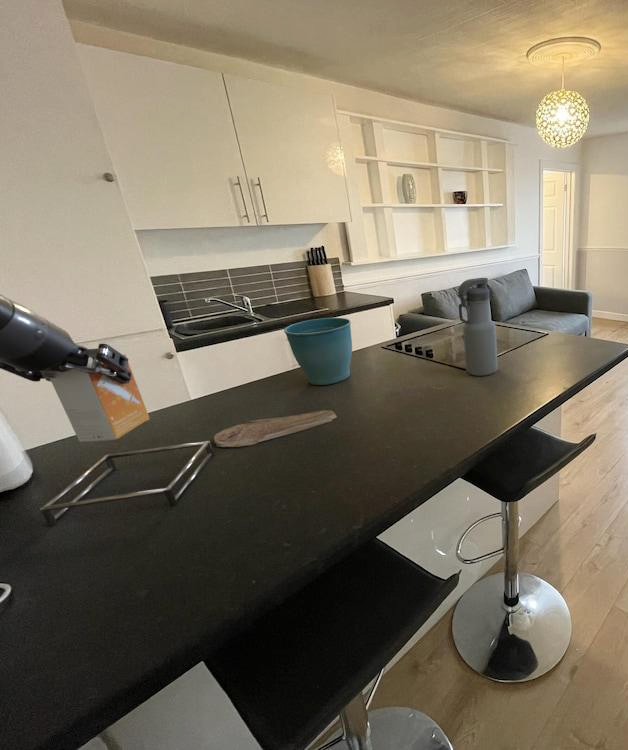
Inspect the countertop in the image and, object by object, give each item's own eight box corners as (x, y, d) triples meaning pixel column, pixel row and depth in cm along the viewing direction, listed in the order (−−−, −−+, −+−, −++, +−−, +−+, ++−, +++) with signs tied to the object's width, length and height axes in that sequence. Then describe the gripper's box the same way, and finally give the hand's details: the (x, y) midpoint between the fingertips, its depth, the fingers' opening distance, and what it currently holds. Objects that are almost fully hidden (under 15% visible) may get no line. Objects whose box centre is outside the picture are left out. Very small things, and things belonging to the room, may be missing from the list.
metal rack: (47, 526, 68) (37, 509, 67) (112, 469, 83) (105, 454, 82) (175, 506, 72) (168, 489, 70) (215, 454, 87) (210, 439, 86)
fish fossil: (329, 405, 107) (329, 401, 107) (339, 423, 100) (338, 419, 99) (213, 434, 94) (212, 429, 94) (214, 456, 87) (213, 452, 86)
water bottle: (473, 379, 120) (467, 283, 109) (459, 369, 128) (452, 279, 117) (503, 372, 125) (500, 279, 114) (488, 363, 132) (483, 275, 122)
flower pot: (286, 381, 125) (273, 327, 118) (341, 364, 137) (331, 314, 131) (315, 395, 114) (301, 337, 107) (371, 375, 126) (362, 322, 120)
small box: (117, 440, 70) (86, 369, 65) (78, 442, 69) (44, 371, 65) (151, 418, 77) (126, 353, 72) (116, 420, 77) (89, 355, 72)
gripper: (80, 307, 59) (153, 357, 74) (-42, 315, 56) (59, 366, 71) (69, 353, 56) (146, 396, 71) (-60, 364, 54) (49, 406, 69)
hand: (103, 381), depth 71 cm, fingers closed on small box, 7 cm apart
